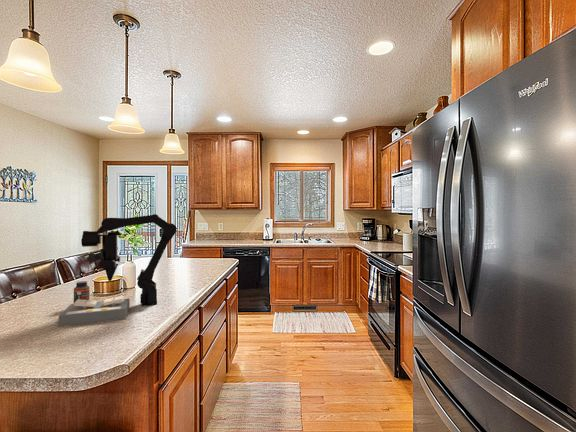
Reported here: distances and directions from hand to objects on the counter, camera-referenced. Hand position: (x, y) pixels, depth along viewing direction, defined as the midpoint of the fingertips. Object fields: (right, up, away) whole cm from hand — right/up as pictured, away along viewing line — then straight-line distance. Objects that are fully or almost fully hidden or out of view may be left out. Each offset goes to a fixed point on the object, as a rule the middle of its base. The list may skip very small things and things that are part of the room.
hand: (109, 280), depth 136 cm
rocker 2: (+7, -6, -9) cm, 13 cm away
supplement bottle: (-13, -12, +1) cm, 18 cm away
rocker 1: (-2, -6, -13) cm, 14 cm away
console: (+1, -12, -11) cm, 17 cm away
